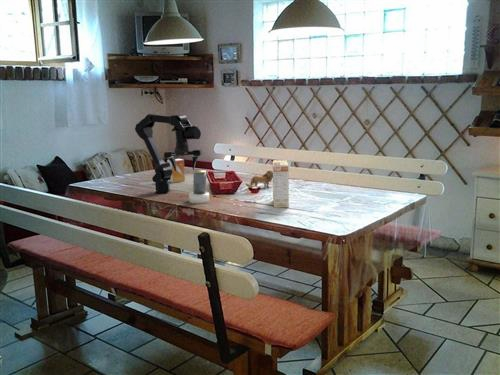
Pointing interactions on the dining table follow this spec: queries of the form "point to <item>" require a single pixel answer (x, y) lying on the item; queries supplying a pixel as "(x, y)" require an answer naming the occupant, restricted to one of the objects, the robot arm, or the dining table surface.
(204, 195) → the ceramic trivet
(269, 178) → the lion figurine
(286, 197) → the coffeecake box
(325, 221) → the dining table surface
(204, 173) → the grey tin
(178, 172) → the small box
